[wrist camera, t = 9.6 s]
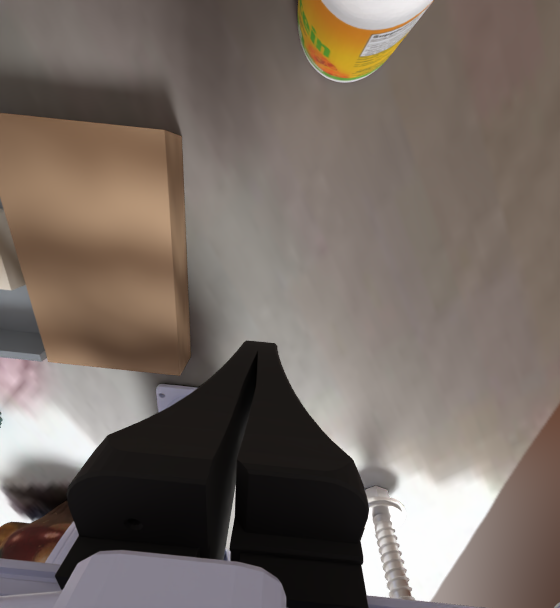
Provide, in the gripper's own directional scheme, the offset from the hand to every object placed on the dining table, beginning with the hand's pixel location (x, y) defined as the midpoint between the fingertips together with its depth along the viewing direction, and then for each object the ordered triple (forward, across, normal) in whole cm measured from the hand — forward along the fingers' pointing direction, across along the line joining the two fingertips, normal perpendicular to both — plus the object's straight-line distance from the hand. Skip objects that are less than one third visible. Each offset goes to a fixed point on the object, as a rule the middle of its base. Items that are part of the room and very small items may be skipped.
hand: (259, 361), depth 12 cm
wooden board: (+9, +11, -1) cm, 15 cm away
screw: (+10, -12, +22) cm, 27 cm away
